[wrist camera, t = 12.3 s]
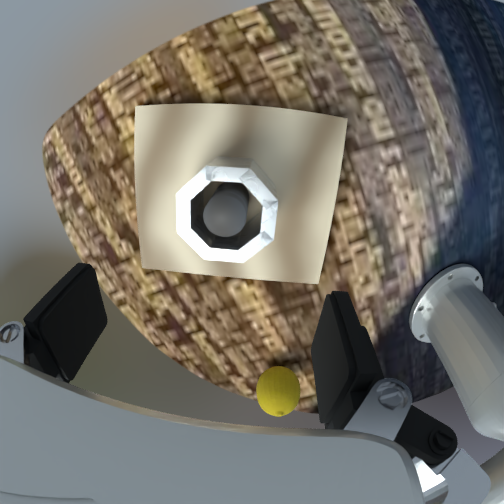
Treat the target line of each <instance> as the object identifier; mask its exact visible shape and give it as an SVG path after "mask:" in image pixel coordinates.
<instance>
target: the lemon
mask: <svg viewBox="0 0 504 504" xmlns="http://www.w3.org/2000/svg"><path fill="white" fill-rule="evenodd" d="M256 392H257V399H258V402H259V404H260V406H261V408H262V409H263V410H264V411H265V412H266V413H268V414H270V415H274V416H277V417H281V416H283V415H286V414H288V413H290V412H291V411H293V410H294V408H295V407H296V406H297V404H298V401H299V397H300V384H299V380H298V378H297V376H296V375H295V373H294V372H293V371H291V370H290V369H288V368H286V367H283V366H274V367H271V368H269V369H267V370H266V371H264V372H263V373H262V375H261V376H260V378H259V380H258V383H257V389H256Z"/></svg>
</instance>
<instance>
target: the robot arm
mask: <svg viewBox="0 0 504 504" xmlns="http://www.w3.org/2000/svg"><path fill="white" fill-rule="evenodd" d="M24 322H25V324H26V326H25V327H23V325H22V324H21V323H20V322H17V321H13V322H9V323H6V324H5V325H3V326H2V327H1V328H0V504H504V448H502V449H501V450H500V451H499V452H498V453H496V455H494V456H493V457H491V458H490V459H489V460H487V461H486V462H484V463H483V464H481V465H480V466H479V465H478V464H477V463H476V462H475V461H474V460H473V459H472V458H471V456H469V454H468V453H467V452H466V451H465V450H464V449H463V448H462V449H460V450H459V449H458V448H457V437H456V434H455V433H454V431H453V430H452V429H451V428H450V427H448V426H447V425H445V424H443V423H442V422H440V421H438V420H436V419H434V418H433V417H431V416H429V415H428V414H426V413H424V412H423V411H421V410H419V409H418V408H416V407H414V406H413V405H411V403H412V394H411V392H410V390H409V388H408V387H407V386H406V385H405V384H404V383H402V382H401V381H399V380H396V379H392V378H386V379H384V376H383V373H382V370H381V367H380V364H379V361H378V359H377V356H376V353H375V350H374V348H373V345H372V342H371V340H370V337H369V334H368V332H367V329H366V328H365V327H364V326H361V325H360V322H359V320H358V317H357V314H356V312H355V309H354V307H353V304H352V301H351V299H350V296H349V294H348V292H344V291H332V293H331V294H327V295H326V298H325V302H324V305H323V309H322V312H321V316H320V319H319V323H318V326H317V329H316V333H315V336H314V339H313V343H312V347H311V355H312V362H313V370H314V377H315V385H316V393H317V401H318V409H319V418H320V422H321V423H325V429H306V428H274V427H259V426H248V425H237V424H228V423H220V422H213V421H206V420H200V419H193V418H187V417H183V416H178V415H173V414H168V413H163V412H159V411H155V410H150V409H146V408H142V407H139V406H135V405H131V404H127V403H124V402H120V401H117V400H114V399H111V398H108V397H105V396H102V395H98V394H96V393H93V392H90V391H87V390H84V389H81V388H79V387H76V386H74V385H71V384H69V382H70V381H71V380H73V379H74V377H75V375H76V374H77V372H78V370H79V369H80V367H81V365H82V364H83V362H84V360H85V359H86V357H87V355H88V354H89V352H90V350H91V349H92V347H93V346H94V344H95V342H96V341H97V339H98V338H99V336H100V335H101V333H102V331H103V330H104V328H105V327H106V325H107V316H106V312H105V309H104V305H103V301H102V297H101V293H100V289H99V285H98V280H97V276H96V272H95V269H94V268H93V267H92V266H91V265H90V264H85V263H78V264H76V266H74V267H73V268H72V269H71V270H70V271H69V272H68V273H67V274H66V275H65V276H64V277H63V278H62V279H61V280H60V281H59V282H58V283H57V284H56V285H55V286H54V287H53V288H52V289H51V290H50V291H49V292H48V293H47V294H46V295H45V296H44V297H43V298H42V299H41V300H40V301H39V302H38V303H37V304H36V305H35V306H34V307H33V309H32V310H31V311H30V312H29V313H28V314H27V315H26V316H25V317H24ZM409 323H410V328H411V331H412V333H413V334H414V336H415V337H416V338H417V339H418V340H420V341H422V342H428V343H429V342H431V343H432V345H433V347H434V349H435V350H436V352H437V354H438V356H439V358H440V359H441V361H442V363H443V365H444V367H445V369H446V371H447V373H448V375H449V377H450V379H451V381H452V383H453V385H454V387H455V389H456V391H457V393H458V395H459V397H460V399H461V402H462V403H463V406H464V408H465V410H466V413H467V415H468V417H469V419H470V422H471V423H472V425H473V427H474V428H475V430H477V431H478V432H479V433H480V434H482V435H484V436H488V437H491V438H495V439H498V440H501V441H504V317H503V315H502V314H501V313H500V312H499V311H498V309H497V308H496V304H495V303H494V302H491V301H490V300H489V299H488V298H487V297H486V296H485V295H484V293H483V280H482V277H481V275H480V273H479V272H478V271H477V270H476V269H475V268H474V267H473V266H471V265H469V264H456V265H453V266H451V267H448V268H446V269H445V270H443V271H441V272H440V273H439V274H437V275H436V276H435V277H434V278H432V279H431V280H430V281H429V282H428V283H427V284H426V286H425V287H424V288H423V289H422V291H421V292H420V294H419V295H418V297H417V298H416V300H415V302H414V304H413V306H412V309H411V313H410V318H409Z"/></svg>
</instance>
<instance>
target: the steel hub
mask: <svg viewBox="0 0 504 504" xmlns="http://www.w3.org/2000/svg"><path fill="white" fill-rule="evenodd" d="M211 181H225V182H239V183H243V184H244V185H245V186H246V187H247V188H248V189H249V190H250V192H251V193H252V194H253V195H254V196H255V197H256V198H257V199H258V201H259V202H260V203H261V211H260V212H259V213H258V214H256V215H255V216H254V217H252V218H251V219H250V220H249V221H247V222H246V223H245V225H244V227H243V229H242V230H241V231H240V232H239V233H237V234H235V235H233V236H229V237H222V236H218V235H215V234H214V233H212V232H211V231H210V230H209V229H208V228H207V227H206V225H205V223H204V219H203V212H204V209H205V207H204V187H205V186H206V185H207V184H209V183H210V182H211ZM277 208H278V197H277V192H276V187H275V184H274V183H273V181H272V180H271V179H270V178H269V177H268V176H267V174H266V173H265V172H264V171H263V170H262V169H261V167H260V166H259V165H258V164H257V163H256V162H255V161H254V159H252V158H238V157H222V156H217V157H216V158H215V159H214V160H213V161H211V162H210V163H209V164H208V165H206V166H205V167H204V168H203V169H202V170H201V171H200V172H199V173H198V174H197V175H196V176H194V177H193V178H192V179H191V180H190V181H189V182H188V183H187V184H186V185H185V186H184V187H183V188H182V189H181V190H180V191H179V192H178V193H177V194H176V209H177V233H178V234H179V235H180V236H181V237H182V238H183V239H184V240H185V241H186V242H187V243H188V244H189V245H190V246H191V247H192V248H193V249H194V250H195V251H196V252H197V253H198V254H199V255H200V256H201V257H202V258H203V259H204V260H215V261H226V262H237V263H244V262H245V261H246V260H248V259H249V258H250V257H252V256H253V255H255V254H256V253H257V252H259V251H260V250H261V249H263V248H264V247H265V246H267V245H268V244H269V243H271V242H272V241H273V240H274V234H275V225H276V217H277Z"/></svg>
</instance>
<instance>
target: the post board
mask: <svg viewBox="0 0 504 504" xmlns="http://www.w3.org/2000/svg"><path fill="white" fill-rule="evenodd" d="M347 120H348V119H347V118H342V117H337V116H331V115H326V114H320V113H314V112H307V111H300V110H293V109H285V108H275V107H265V106H253V105H237V104H161V105H146V106H135V144H134V152H135V190H136V208H137V221H138V233H139V243H140V252H141V261H142V268H148V269H157V270H166V271H175V272H185V273H194V274H204V275H214V276H225V277H236V278H247V279H259V280H271V281H283V282H297V283H310V284H318V282H319V278H320V274H321V270H322V265H323V261H324V256H325V252H326V247H327V242H328V237H329V232H330V227H331V222H332V217H333V212H334V206H335V201H336V195H337V190H338V184H339V177H340V171H341V165H342V158H343V151H344V144H345V136H346V128H347ZM217 156H222V157H238V158H252V159H254V161H255V162H256V163H257V164H258V165H259V166H260V167H261V169H262V170H263V171H264V172H265V173H266V174H267V176H268V177H269V178H270V179H271V180H272V181H273V183H274V184H275V187H276V192H277V197H278V208H277V217H276V225H275V234H274V240H273V241H272V242H271V243H269V244H268V245H267V246H265V247H264V248H263V249H261V250H260V251H259V252H257V253H256V254H255V255H253V256H252V257H250V258H249V259H248V260H246V261H245V262H244V263H237V262H226V261H215V260H204V259H203V258H202V257H201V256H200V255H199V254H198V253H197V252H196V251H195V250H194V249H193V248H192V247H191V246H190V245H189V244H188V243H187V242H186V241H185V240H184V239H183V238H182V237H181V236H180V235H179V234H178V233H177V209H176V194H177V193H178V192H179V191H180V190H181V189H182V188H183V187H184V186H185V185H186V184H187V183H188V182H189V181H190V180H191V179H192V178H193V177H194V176H196V175H197V174H198V173H199V172H200V171H201V170H202V169H203V168H204V167H205V166H206V165H208V164H209V163H210V162H211V161H213V160H214V159H215V158H216V157H217ZM204 207H205V209H204V212H203V219H204V223H205V225H206V227H207V228H208V229H209V230H210V231H211V232H212V233H214V234H215V235H218V236H222V237H229V236H233V235H235V234H237V233H239V232H240V231H241V230H242V229H243V227H244V225H245V223H246V222H247V221H249V220H250V219H251V218H252V217H254V216H255V215H256V214H258V213H259V212H260V211H261V203H260V202H259V201H258V199H257V198H256V197H255V196H254V195H253V194H252V193H251V192H250V190H249V189H248V188H247V187H246V186H245V185H244V184H243V183H239V182H225V181H211V182H210V183H209V184H207V185H206V186H205V187H204Z"/></svg>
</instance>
